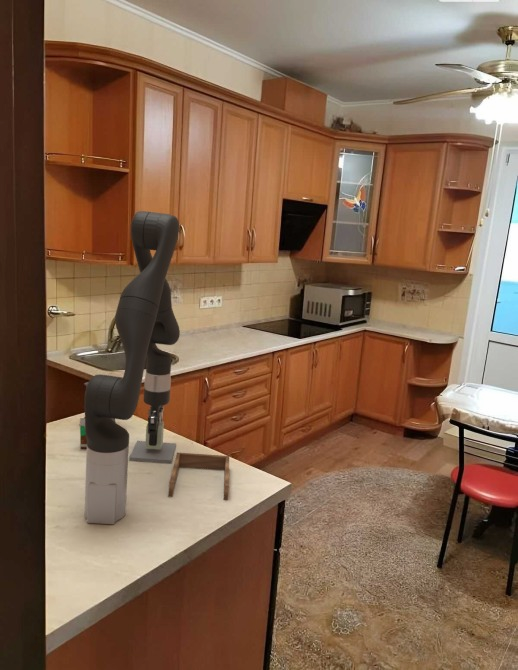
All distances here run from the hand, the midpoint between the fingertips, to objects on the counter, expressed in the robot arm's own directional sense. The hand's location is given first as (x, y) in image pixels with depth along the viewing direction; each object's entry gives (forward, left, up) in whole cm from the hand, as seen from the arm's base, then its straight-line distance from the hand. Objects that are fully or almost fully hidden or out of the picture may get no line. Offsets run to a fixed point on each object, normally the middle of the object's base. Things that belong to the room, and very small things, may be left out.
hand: (154, 441), depth 153 cm
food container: (+4, +18, -4) cm, 19 cm away
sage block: (0, 0, -1) cm, 1 cm away
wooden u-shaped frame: (-16, -15, -4) cm, 22 cm away
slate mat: (0, 0, -4) cm, 4 cm away
